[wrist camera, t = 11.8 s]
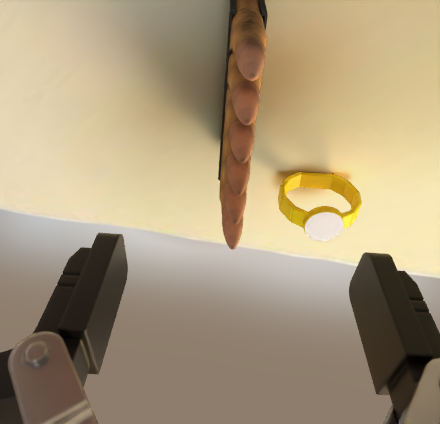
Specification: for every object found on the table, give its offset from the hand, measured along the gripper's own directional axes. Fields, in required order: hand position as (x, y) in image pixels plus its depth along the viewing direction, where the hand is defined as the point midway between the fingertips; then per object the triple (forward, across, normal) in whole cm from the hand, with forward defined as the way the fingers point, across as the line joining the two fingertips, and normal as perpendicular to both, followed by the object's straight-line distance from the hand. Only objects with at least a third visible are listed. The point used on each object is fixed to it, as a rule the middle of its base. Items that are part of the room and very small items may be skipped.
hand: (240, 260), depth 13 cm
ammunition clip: (+17, 0, 0) cm, 17 cm away
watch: (+17, -7, +8) cm, 20 cm away
